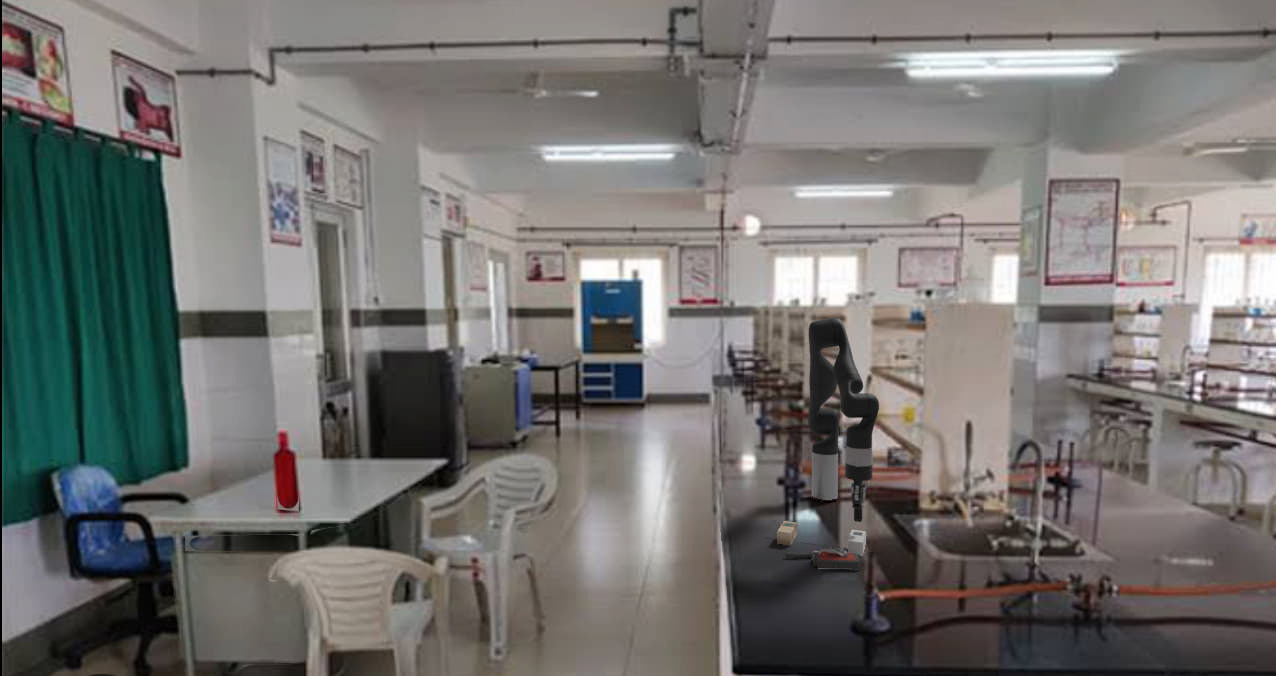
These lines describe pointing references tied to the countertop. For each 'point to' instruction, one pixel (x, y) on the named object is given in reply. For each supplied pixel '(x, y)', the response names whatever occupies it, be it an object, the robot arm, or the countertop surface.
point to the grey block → (857, 542)
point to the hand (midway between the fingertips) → (858, 520)
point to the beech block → (787, 533)
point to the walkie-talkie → (831, 558)
